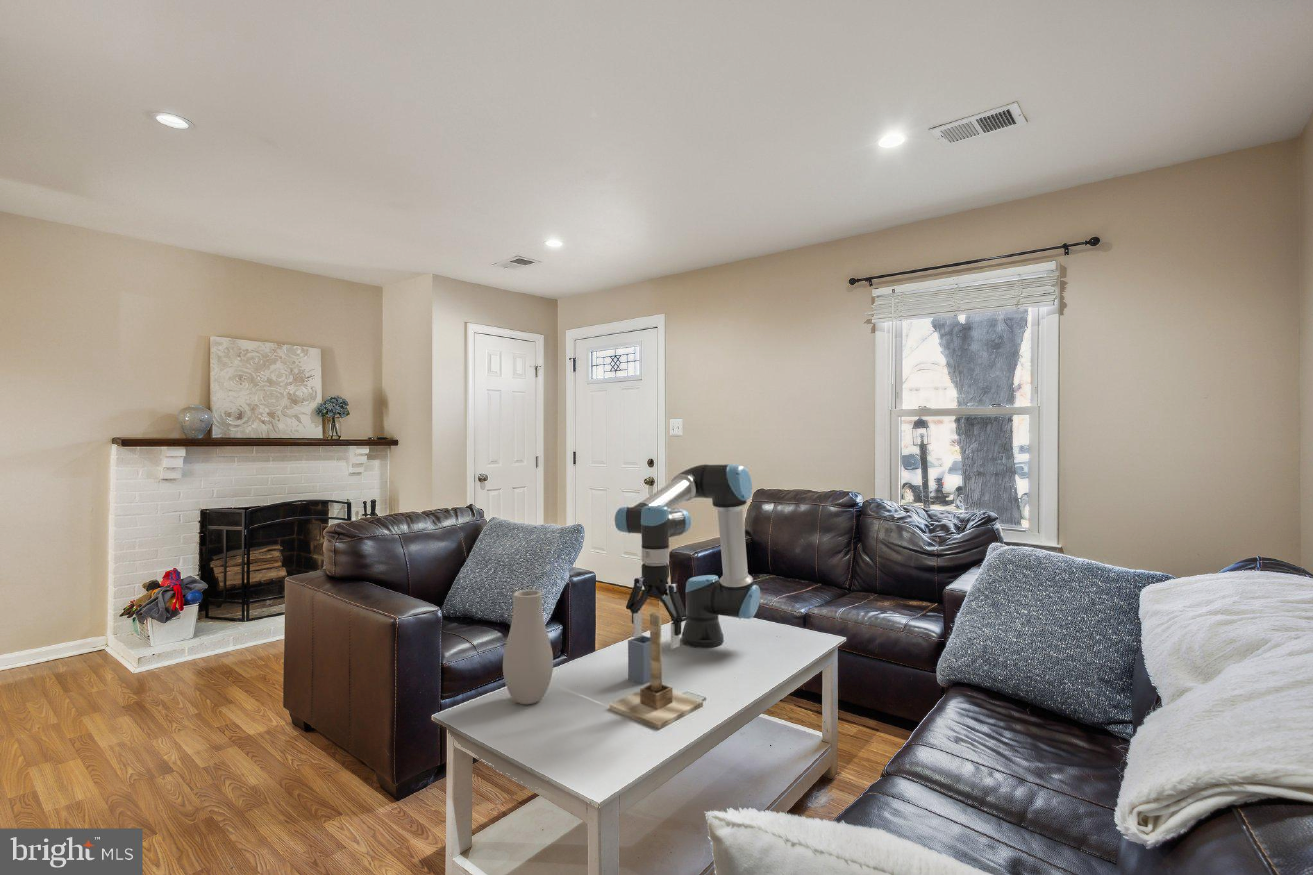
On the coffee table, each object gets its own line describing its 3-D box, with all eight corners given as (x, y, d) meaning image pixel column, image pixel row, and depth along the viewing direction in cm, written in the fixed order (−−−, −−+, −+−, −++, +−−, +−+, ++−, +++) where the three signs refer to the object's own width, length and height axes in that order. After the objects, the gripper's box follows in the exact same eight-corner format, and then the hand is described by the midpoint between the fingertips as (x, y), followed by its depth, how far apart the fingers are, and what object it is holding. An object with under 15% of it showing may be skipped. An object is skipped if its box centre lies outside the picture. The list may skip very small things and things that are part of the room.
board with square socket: (653, 688, 178) (653, 670, 178) (703, 705, 166) (702, 686, 166) (609, 708, 164) (609, 689, 165) (659, 729, 152) (659, 708, 153)
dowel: (656, 699, 167) (655, 612, 167) (664, 702, 165) (663, 614, 165) (648, 703, 165) (647, 614, 165) (656, 706, 163) (655, 616, 163)
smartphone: (707, 697, 171) (677, 717, 158) (707, 700, 171) (677, 720, 158) (685, 690, 175) (654, 709, 163) (685, 693, 175) (654, 712, 163)
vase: (548, 711, 163) (548, 598, 164) (497, 711, 163) (496, 599, 164) (556, 690, 177) (556, 586, 177) (509, 690, 177) (508, 587, 177)
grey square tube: (642, 673, 189) (642, 635, 189) (658, 679, 185) (657, 639, 185) (628, 679, 185) (628, 640, 185) (643, 685, 180) (643, 644, 180)
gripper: (613, 559, 171) (613, 635, 171) (682, 571, 154) (682, 655, 154) (631, 555, 177) (632, 629, 176) (700, 566, 160) (701, 647, 160)
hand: (655, 641), depth 165 cm, fingers open, 13 cm apart
